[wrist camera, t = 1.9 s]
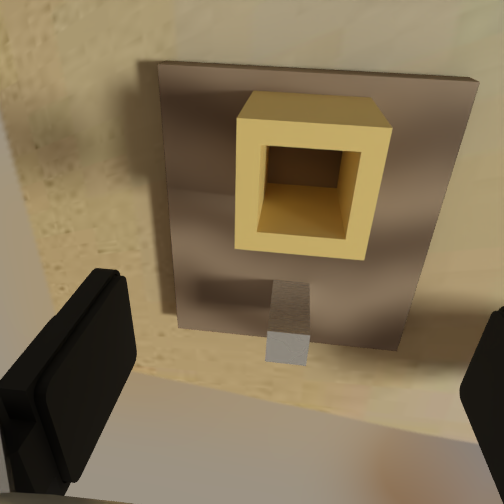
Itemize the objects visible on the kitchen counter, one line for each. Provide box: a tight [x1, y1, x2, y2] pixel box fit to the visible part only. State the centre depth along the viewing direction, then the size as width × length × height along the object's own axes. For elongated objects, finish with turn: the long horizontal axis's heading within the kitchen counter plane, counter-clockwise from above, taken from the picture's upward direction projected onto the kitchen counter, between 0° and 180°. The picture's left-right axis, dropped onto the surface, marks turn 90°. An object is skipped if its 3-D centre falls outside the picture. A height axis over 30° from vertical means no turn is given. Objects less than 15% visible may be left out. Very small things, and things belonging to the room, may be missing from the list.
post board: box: [158, 61, 480, 366], centre depth 23 cm, size 18×16×6 cm
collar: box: [235, 91, 393, 260], centre depth 20 cm, size 6×6×6 cm
